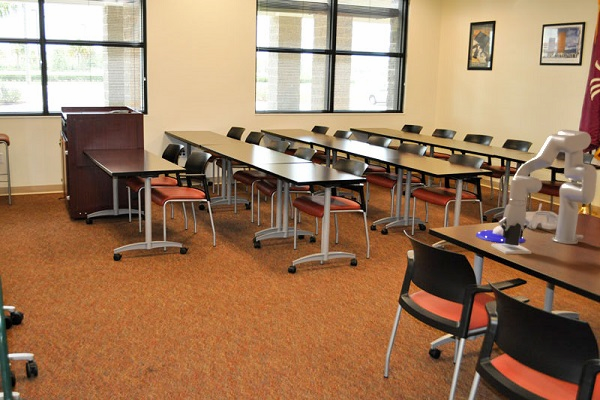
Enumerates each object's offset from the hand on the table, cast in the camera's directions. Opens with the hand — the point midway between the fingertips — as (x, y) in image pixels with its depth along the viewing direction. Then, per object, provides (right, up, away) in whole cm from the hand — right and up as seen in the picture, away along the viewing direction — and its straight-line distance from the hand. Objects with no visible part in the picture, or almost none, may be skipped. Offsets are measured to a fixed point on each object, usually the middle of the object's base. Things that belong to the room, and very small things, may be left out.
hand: (512, 237), depth 320 cm
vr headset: (+32, +2, +52) cm, 61 cm away
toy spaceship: (+2, -2, +25) cm, 25 cm away
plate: (0, -6, +1) cm, 6 cm away
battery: (0, -4, +1) cm, 4 cm away
